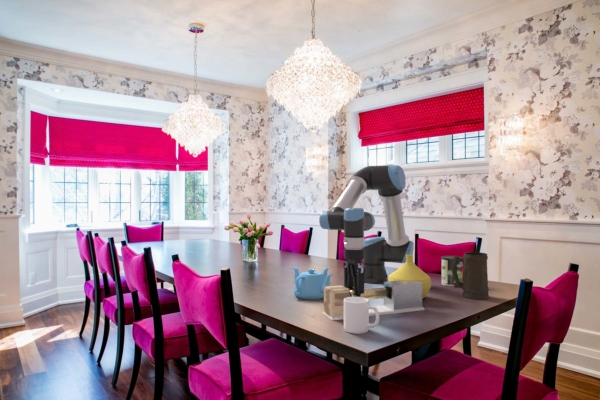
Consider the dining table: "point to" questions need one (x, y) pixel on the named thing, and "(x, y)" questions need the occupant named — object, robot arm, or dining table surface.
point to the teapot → (311, 284)
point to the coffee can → (450, 271)
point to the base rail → (381, 310)
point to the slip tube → (372, 293)
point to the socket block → (335, 300)
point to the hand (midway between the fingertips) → (353, 309)
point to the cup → (358, 315)
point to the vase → (412, 275)
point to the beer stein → (472, 275)
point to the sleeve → (403, 294)
